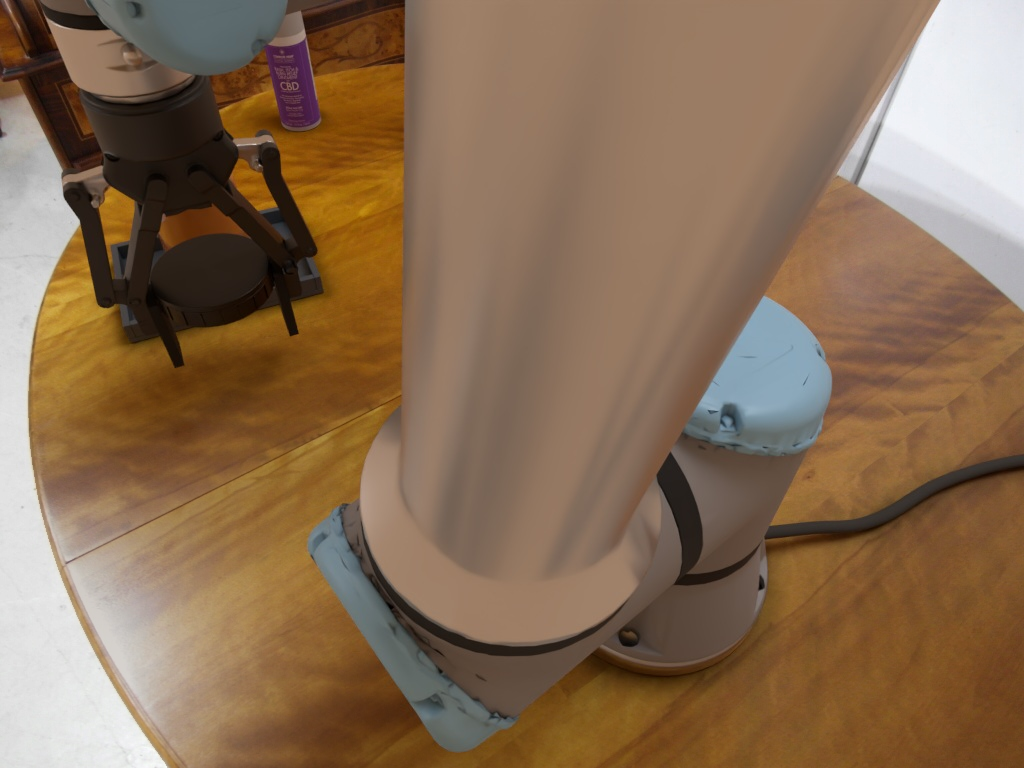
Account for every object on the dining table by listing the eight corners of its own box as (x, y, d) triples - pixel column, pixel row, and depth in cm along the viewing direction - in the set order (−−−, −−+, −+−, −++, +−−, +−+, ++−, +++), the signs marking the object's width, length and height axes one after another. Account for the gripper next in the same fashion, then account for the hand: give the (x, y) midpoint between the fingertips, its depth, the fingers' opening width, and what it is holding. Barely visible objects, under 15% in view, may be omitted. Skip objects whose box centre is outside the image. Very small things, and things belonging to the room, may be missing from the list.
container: (288, 135, 91) (259, 3, 79) (276, 117, 93) (246, -14, 82) (326, 125, 92) (303, -6, 81) (313, 107, 95) (289, -22, 84)
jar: (250, 239, 77) (219, 133, 68) (267, 286, 72) (235, 178, 64) (171, 258, 75) (128, 151, 66) (182, 307, 70) (138, 199, 61)
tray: (293, 219, 80) (289, 203, 78) (324, 292, 72) (320, 276, 71) (117, 261, 75) (109, 244, 74) (131, 343, 68) (122, 327, 66)
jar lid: (290, 303, 58) (285, 283, 57) (174, 343, 55) (165, 323, 54) (254, 240, 63) (248, 220, 62) (145, 274, 60) (136, 254, 59)
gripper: (-59, 142, 41) (101, 411, 58) (331, 71, 47) (373, 334, 64) (-55, 78, 46) (93, 345, 63) (301, 21, 52) (348, 279, 69)
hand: (235, 339), depth 64 cm, fingers closed on jar lid, 8 cm apart
